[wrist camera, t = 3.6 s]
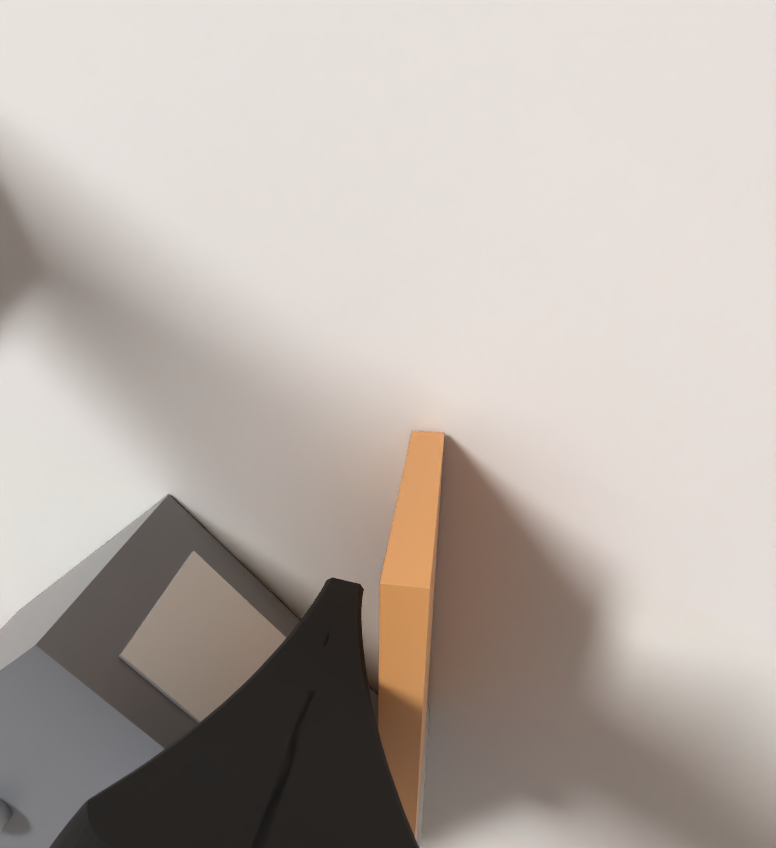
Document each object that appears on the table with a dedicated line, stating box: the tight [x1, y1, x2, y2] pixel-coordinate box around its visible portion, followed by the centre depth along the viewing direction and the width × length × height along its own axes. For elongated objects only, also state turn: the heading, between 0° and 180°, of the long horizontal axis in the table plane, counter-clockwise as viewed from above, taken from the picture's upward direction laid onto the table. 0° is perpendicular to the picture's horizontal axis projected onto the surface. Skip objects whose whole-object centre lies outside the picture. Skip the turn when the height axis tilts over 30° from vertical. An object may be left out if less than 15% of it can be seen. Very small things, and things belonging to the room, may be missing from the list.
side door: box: [378, 431, 444, 848], centre depth 14 cm, size 10×1×6 cm, turn 179°
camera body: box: [0, 494, 378, 848], centre depth 16 cm, size 12×8×6 cm
